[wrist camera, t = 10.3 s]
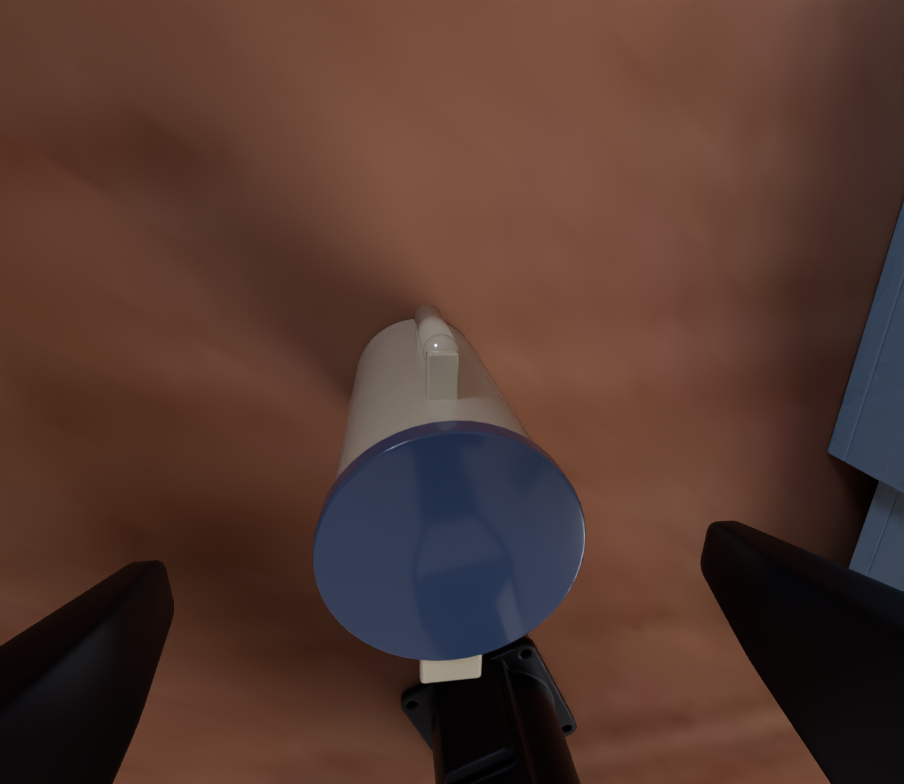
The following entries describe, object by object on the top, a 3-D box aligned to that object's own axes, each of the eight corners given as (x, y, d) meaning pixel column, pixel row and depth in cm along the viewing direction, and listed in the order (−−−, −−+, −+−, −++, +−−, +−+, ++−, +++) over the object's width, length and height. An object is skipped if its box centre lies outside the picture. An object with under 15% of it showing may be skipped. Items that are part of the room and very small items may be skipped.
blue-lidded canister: (482, 453, 19) (570, 675, 10) (356, 460, 18) (326, 700, 9) (488, 283, 16) (609, 365, 7) (345, 283, 16) (291, 373, 7)
